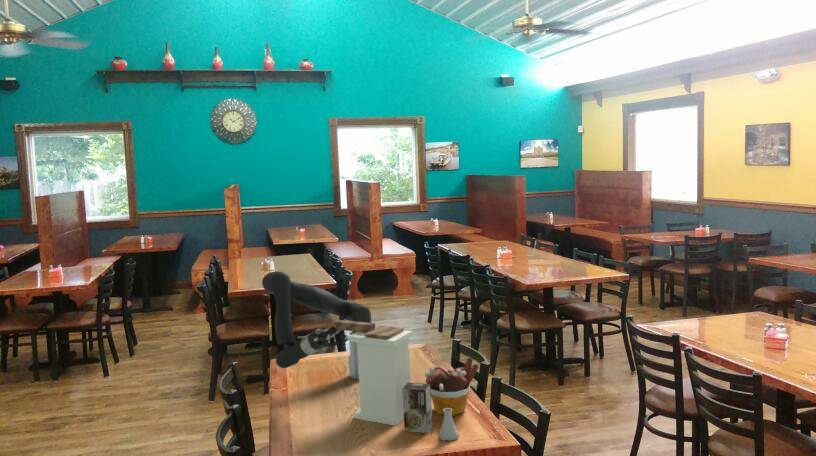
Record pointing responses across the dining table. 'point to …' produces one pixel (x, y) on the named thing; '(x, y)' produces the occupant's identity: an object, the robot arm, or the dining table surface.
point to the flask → (448, 427)
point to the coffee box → (417, 407)
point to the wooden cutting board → (368, 328)
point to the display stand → (382, 376)
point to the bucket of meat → (450, 387)
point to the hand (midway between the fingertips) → (342, 324)
